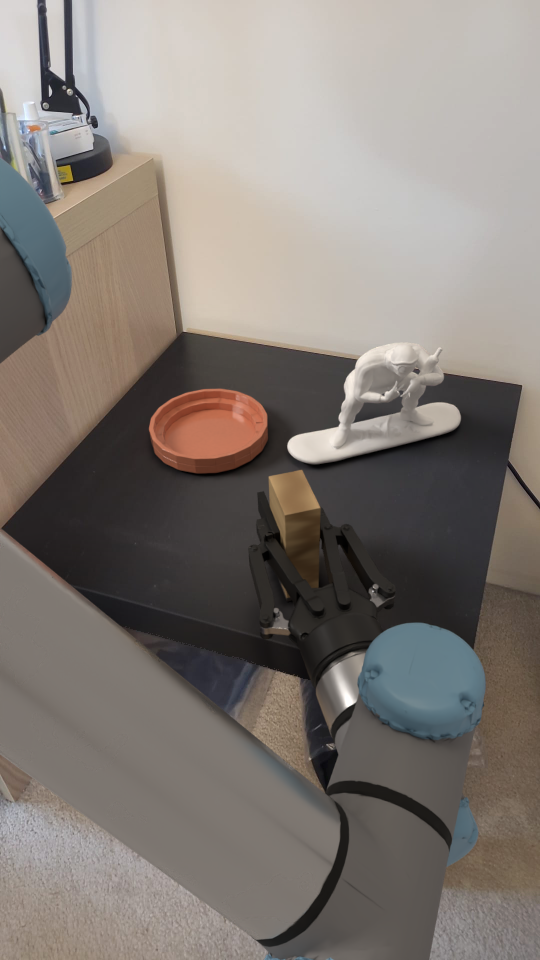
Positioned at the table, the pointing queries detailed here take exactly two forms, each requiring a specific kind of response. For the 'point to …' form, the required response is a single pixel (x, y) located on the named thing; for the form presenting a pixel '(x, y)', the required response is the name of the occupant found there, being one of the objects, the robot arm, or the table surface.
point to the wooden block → (297, 523)
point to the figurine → (366, 384)
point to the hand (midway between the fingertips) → (279, 497)
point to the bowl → (209, 430)
